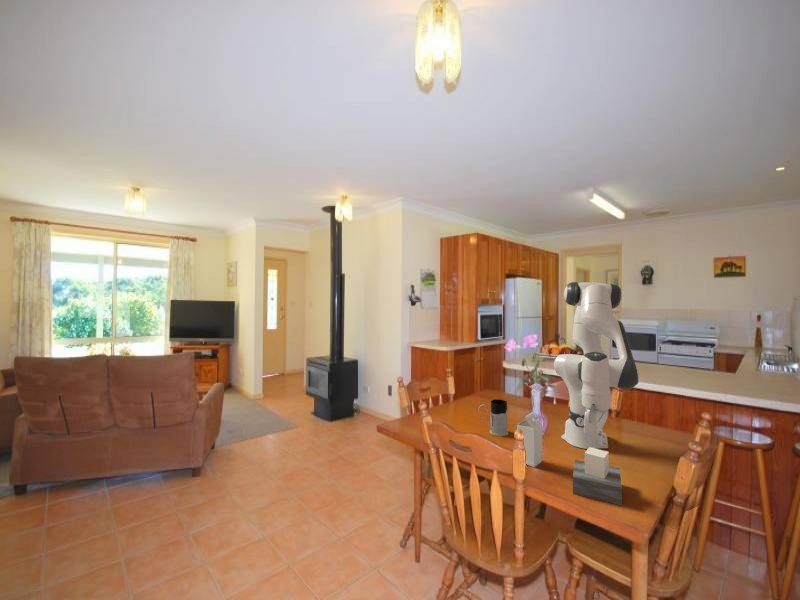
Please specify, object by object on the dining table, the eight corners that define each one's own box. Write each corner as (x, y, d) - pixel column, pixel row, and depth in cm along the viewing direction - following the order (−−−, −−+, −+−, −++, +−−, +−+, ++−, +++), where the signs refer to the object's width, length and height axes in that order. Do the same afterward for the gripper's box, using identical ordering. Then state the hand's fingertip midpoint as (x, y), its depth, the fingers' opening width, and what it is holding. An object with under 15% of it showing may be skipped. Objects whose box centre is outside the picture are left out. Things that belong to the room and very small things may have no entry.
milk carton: (517, 461, 144) (516, 414, 143) (525, 455, 149) (525, 410, 148) (534, 467, 139) (533, 418, 138) (542, 461, 144) (541, 414, 143)
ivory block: (589, 466, 128) (589, 447, 128) (608, 472, 124) (608, 451, 124) (584, 473, 123) (584, 452, 123) (604, 478, 119) (604, 458, 119)
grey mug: (511, 436, 169) (510, 404, 169) (480, 436, 169) (480, 404, 169) (505, 428, 178) (505, 398, 178) (476, 429, 178) (476, 399, 178)
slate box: (575, 475, 133) (575, 459, 133) (619, 485, 126) (619, 468, 126) (572, 494, 121) (572, 477, 121) (621, 506, 114) (621, 487, 114)
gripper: (600, 411, 113) (600, 454, 113) (611, 394, 129) (612, 433, 129) (578, 407, 117) (579, 449, 117) (592, 392, 133) (592, 429, 133)
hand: (596, 440), depth 123 cm, fingers open, 8 cm apart
